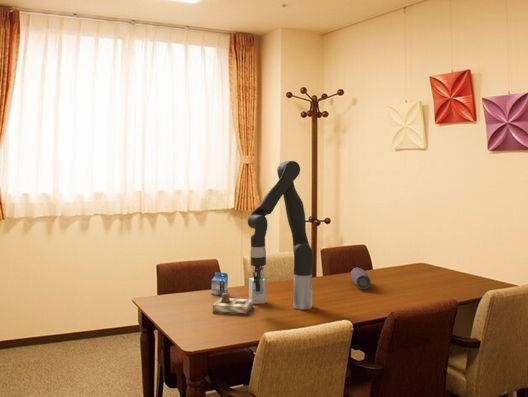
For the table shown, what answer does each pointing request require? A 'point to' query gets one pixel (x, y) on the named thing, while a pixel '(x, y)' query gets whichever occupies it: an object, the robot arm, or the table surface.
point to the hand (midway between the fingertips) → (258, 290)
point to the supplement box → (252, 295)
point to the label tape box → (220, 284)
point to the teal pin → (260, 286)
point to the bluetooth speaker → (360, 278)
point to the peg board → (232, 305)
